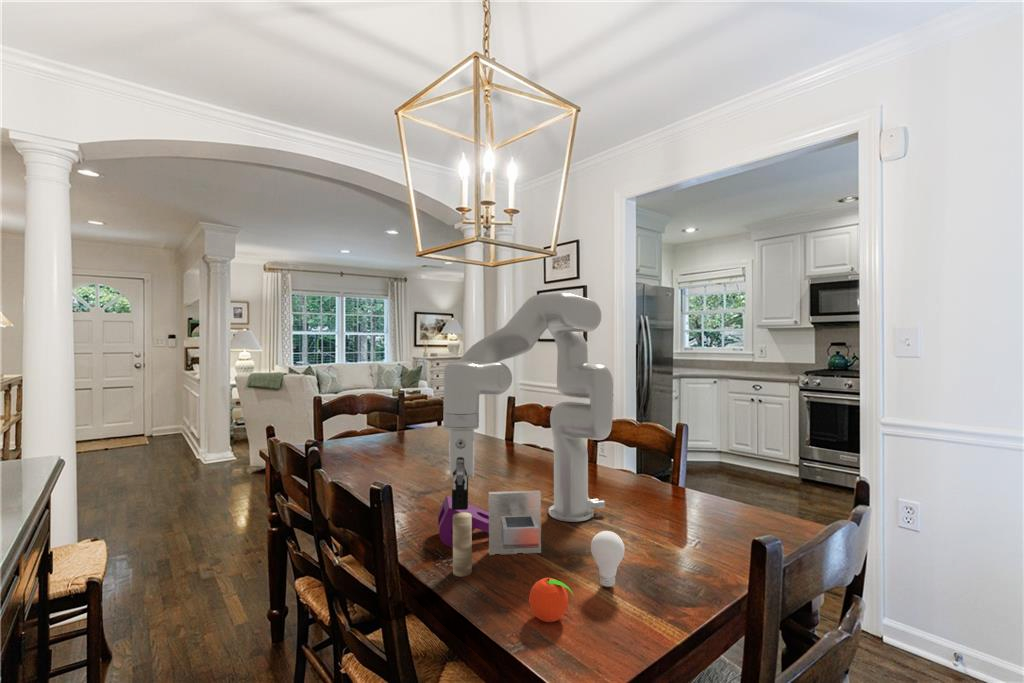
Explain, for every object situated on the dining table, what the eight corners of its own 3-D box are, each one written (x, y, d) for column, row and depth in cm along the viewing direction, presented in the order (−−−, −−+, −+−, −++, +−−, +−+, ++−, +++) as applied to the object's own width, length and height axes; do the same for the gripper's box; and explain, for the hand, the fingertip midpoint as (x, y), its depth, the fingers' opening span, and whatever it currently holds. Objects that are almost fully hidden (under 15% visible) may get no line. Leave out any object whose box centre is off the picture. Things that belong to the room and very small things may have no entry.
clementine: (576, 611, 88) (576, 572, 88) (571, 634, 81) (571, 592, 81) (533, 605, 90) (533, 567, 90) (525, 627, 83) (525, 586, 83)
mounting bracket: (495, 550, 127) (432, 525, 124) (508, 520, 128) (446, 494, 125) (501, 567, 118) (433, 540, 115) (515, 534, 119) (449, 507, 116)
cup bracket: (540, 549, 114) (539, 490, 114) (550, 582, 99) (550, 513, 99) (488, 552, 113) (488, 492, 113) (491, 585, 98) (491, 515, 98)
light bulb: (584, 586, 97) (584, 532, 97) (603, 575, 101) (603, 523, 101) (612, 599, 92) (612, 541, 92) (631, 587, 97) (631, 532, 97)
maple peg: (471, 567, 105) (471, 512, 105) (471, 576, 101) (471, 518, 101) (453, 567, 105) (453, 512, 105) (452, 576, 101) (452, 519, 101)
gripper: (479, 427, 95) (478, 515, 94) (478, 414, 112) (477, 489, 112) (441, 427, 94) (439, 516, 94) (445, 415, 111) (444, 489, 111)
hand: (460, 501), depth 103 cm, fingers open, 9 cm apart
